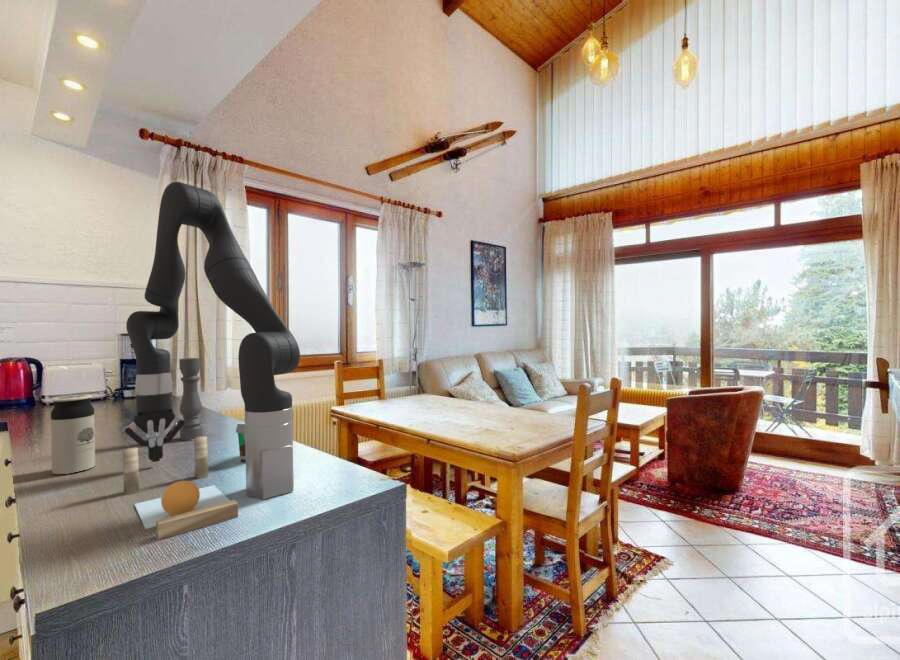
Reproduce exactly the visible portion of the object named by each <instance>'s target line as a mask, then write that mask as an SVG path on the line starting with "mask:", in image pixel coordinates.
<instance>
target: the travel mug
mask: <svg viewBox="0 0 900 660" xmlns="http://www.w3.org/2000/svg"><path fill="white" fill-rule="evenodd" d="M92 398H93V395H92V394H73V395H64V396H57V397H53V398H51V401H52V402H53V405H54V407H53V409H52V410H51V411H50V433H51V435H50V436H51V438H50V439H51V440H50V441H51V473H52V474H54V475H57V474H66V475H68V474H67V473H74V472H78V473H80V472H79V471H83V470H86V471H88V470H87V469H89V470H90V468H91V469H92V468H94V467H95V466H96V447H95V446H96V440H95V439H96V438H95V437H96V436H95V435H96V434H95V408H94V406H93V405H92V403H91V401H92ZM83 472H84V471H83ZM74 474H75V473H74Z"/></svg>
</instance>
